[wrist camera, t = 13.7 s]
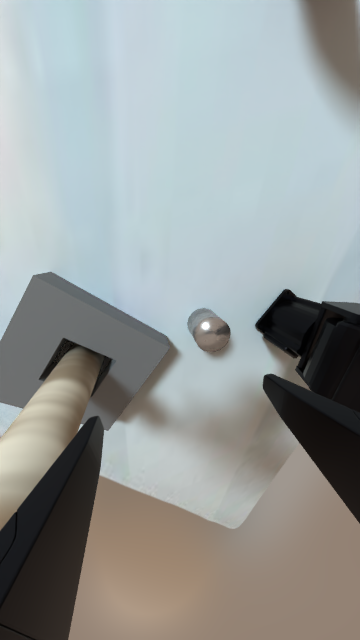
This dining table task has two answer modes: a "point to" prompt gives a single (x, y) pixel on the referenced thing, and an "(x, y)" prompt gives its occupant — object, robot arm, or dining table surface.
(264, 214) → the dining table surface
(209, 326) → the steel stub
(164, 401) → the dining table surface
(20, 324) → the plate
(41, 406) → the birch pin
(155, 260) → the dining table surface
